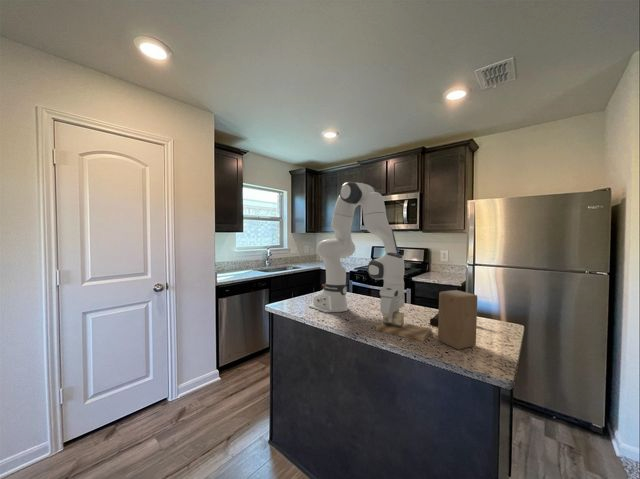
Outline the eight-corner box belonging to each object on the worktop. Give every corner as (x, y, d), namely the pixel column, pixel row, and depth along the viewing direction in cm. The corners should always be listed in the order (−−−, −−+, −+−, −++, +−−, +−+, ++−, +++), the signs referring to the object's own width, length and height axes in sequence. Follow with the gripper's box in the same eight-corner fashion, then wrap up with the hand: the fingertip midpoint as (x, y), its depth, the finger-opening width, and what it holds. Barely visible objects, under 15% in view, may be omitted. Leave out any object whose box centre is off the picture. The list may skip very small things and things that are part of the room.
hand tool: (438, 327, 125) (438, 317, 125) (429, 325, 128) (429, 315, 128) (449, 318, 140) (449, 309, 140) (440, 316, 142) (441, 307, 142)
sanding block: (382, 323, 123) (383, 312, 123) (386, 320, 126) (386, 309, 126) (400, 327, 118) (400, 315, 118) (403, 324, 122) (404, 313, 122)
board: (376, 330, 120) (376, 326, 120) (387, 322, 131) (387, 319, 131) (423, 341, 108) (423, 337, 108) (431, 332, 119) (431, 328, 119)
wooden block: (458, 350, 100) (459, 296, 100) (436, 340, 109) (438, 291, 109) (477, 346, 104) (478, 294, 104) (454, 337, 113) (456, 289, 113)
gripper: (395, 285, 132) (394, 313, 132) (377, 292, 115) (377, 324, 116) (408, 286, 128) (407, 315, 129) (392, 294, 112) (391, 327, 112)
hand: (393, 320), depth 122 cm, fingers closed on sanding block, 4 cm apart
